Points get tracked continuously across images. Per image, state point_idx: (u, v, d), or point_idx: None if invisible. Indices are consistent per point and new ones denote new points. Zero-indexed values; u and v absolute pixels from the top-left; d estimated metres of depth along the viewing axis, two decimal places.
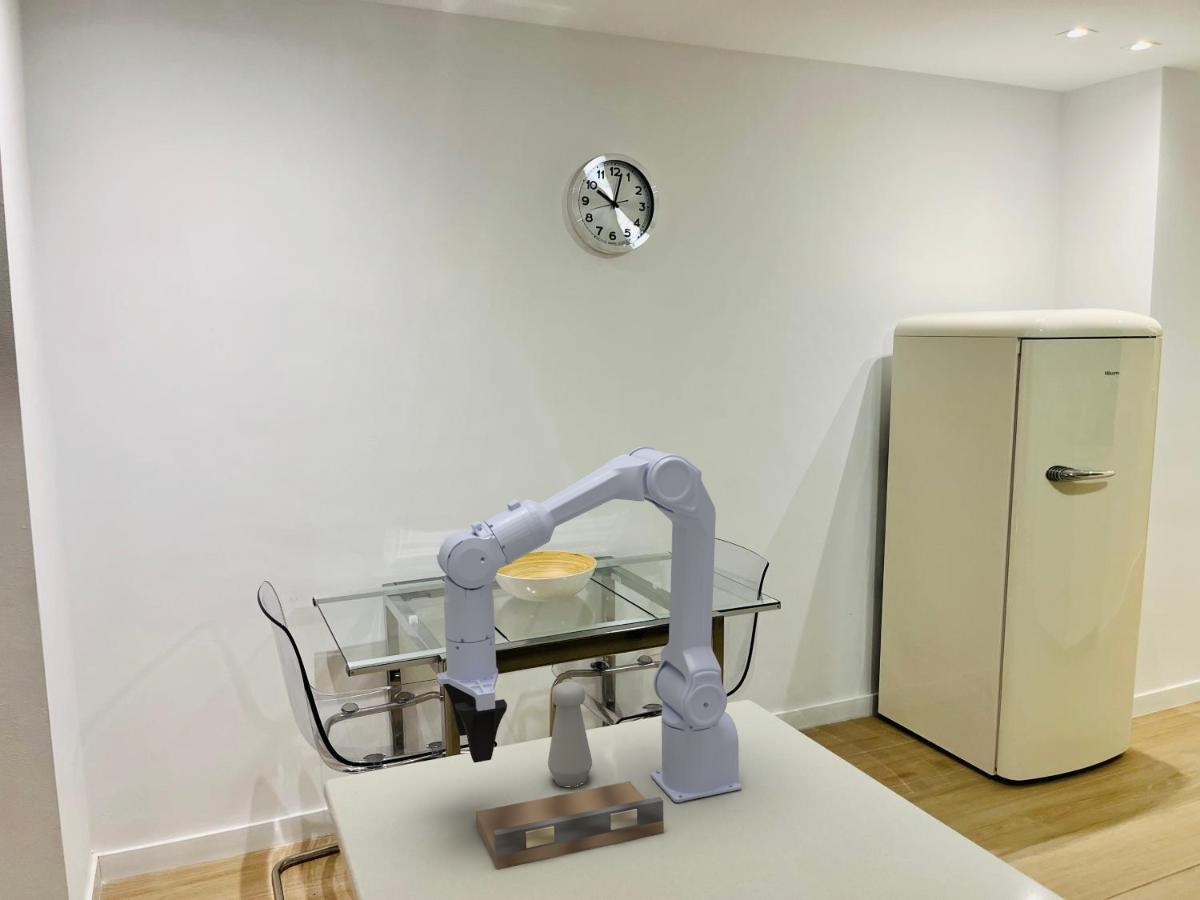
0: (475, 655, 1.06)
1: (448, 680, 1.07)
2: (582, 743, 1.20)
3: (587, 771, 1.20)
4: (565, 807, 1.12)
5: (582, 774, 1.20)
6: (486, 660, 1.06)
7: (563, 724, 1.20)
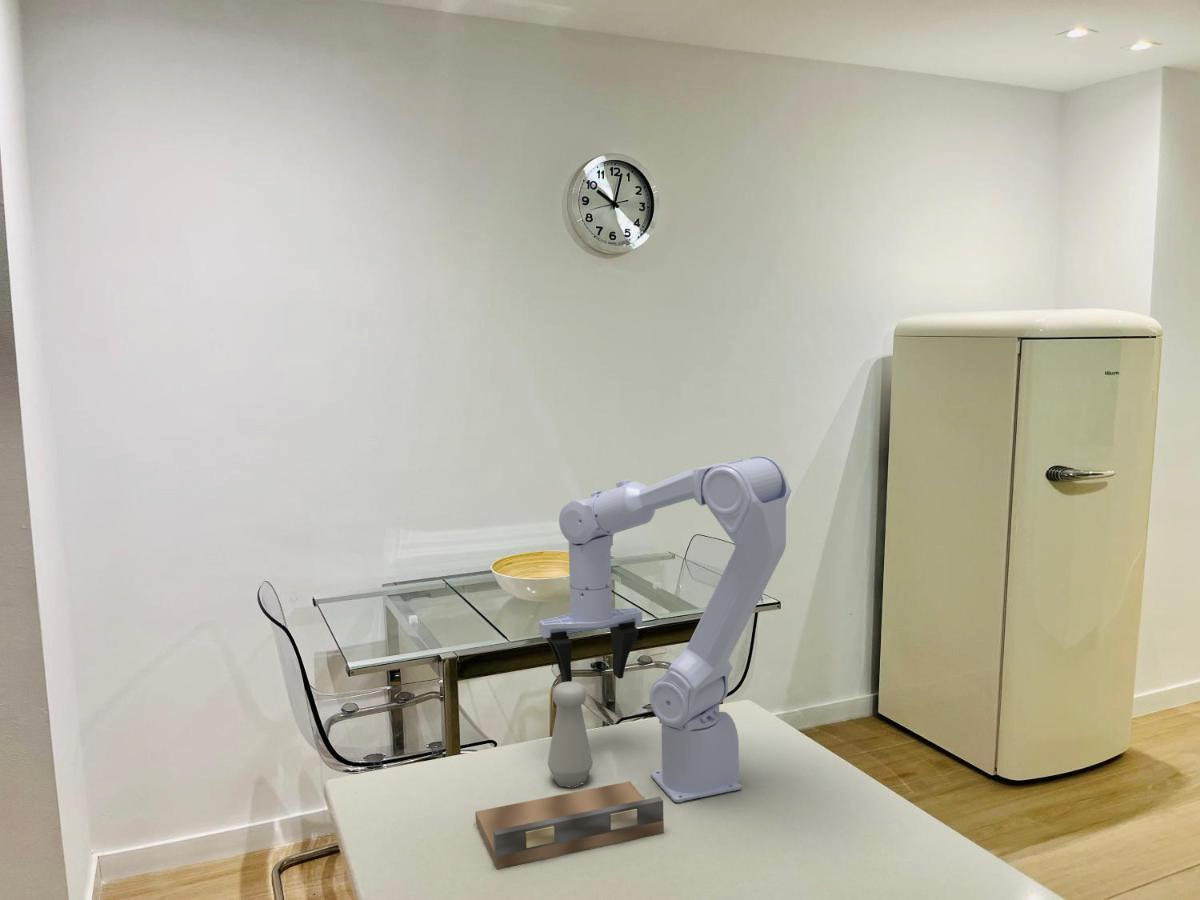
0: (570, 597, 1.27)
1: None
2: (583, 743, 1.20)
3: (587, 771, 1.20)
4: (565, 807, 1.12)
5: (583, 774, 1.20)
6: (576, 606, 1.26)
7: (564, 724, 1.20)
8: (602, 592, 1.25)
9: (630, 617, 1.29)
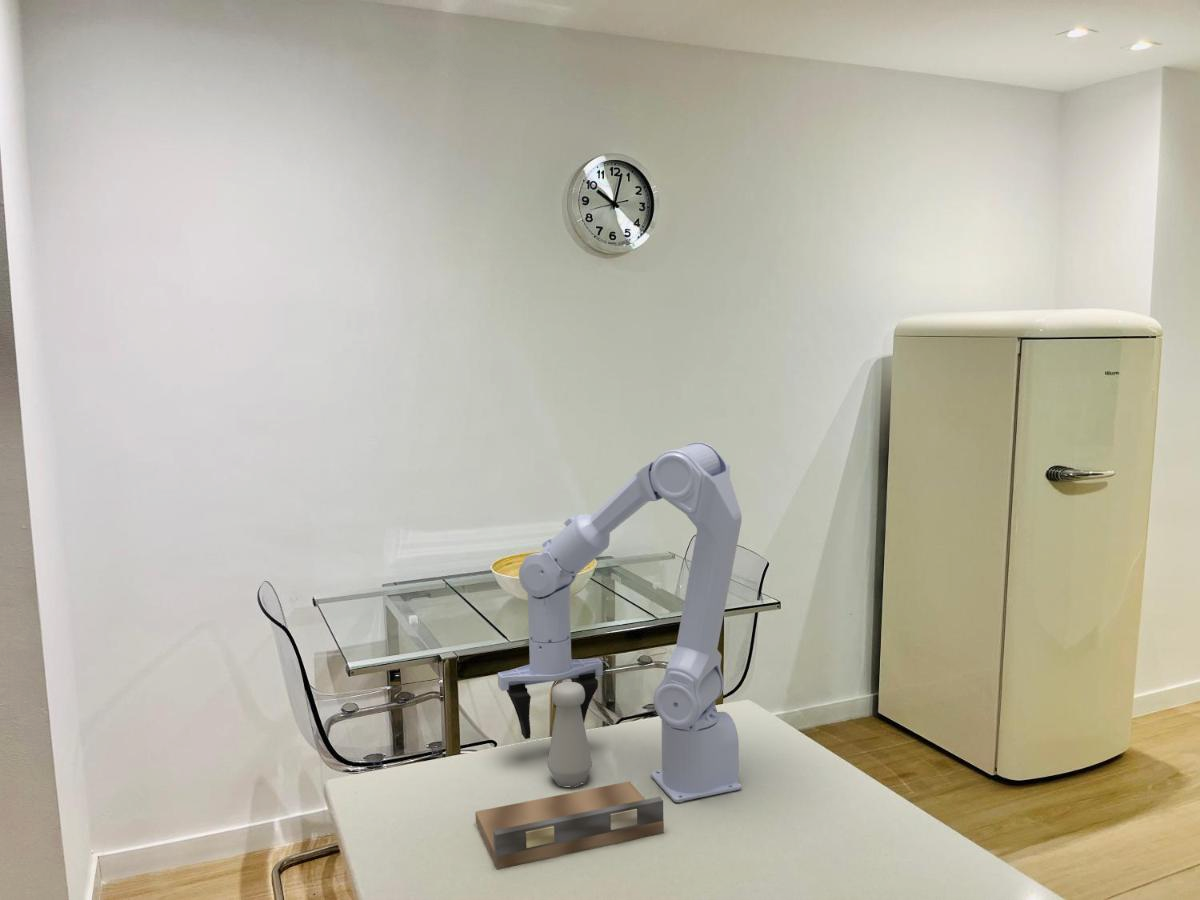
0: (529, 649, 1.27)
1: None
2: (582, 743, 1.20)
3: (587, 771, 1.20)
4: (565, 807, 1.12)
5: (582, 774, 1.20)
6: (535, 658, 1.26)
7: (563, 724, 1.20)
8: (560, 645, 1.25)
9: (590, 668, 1.29)
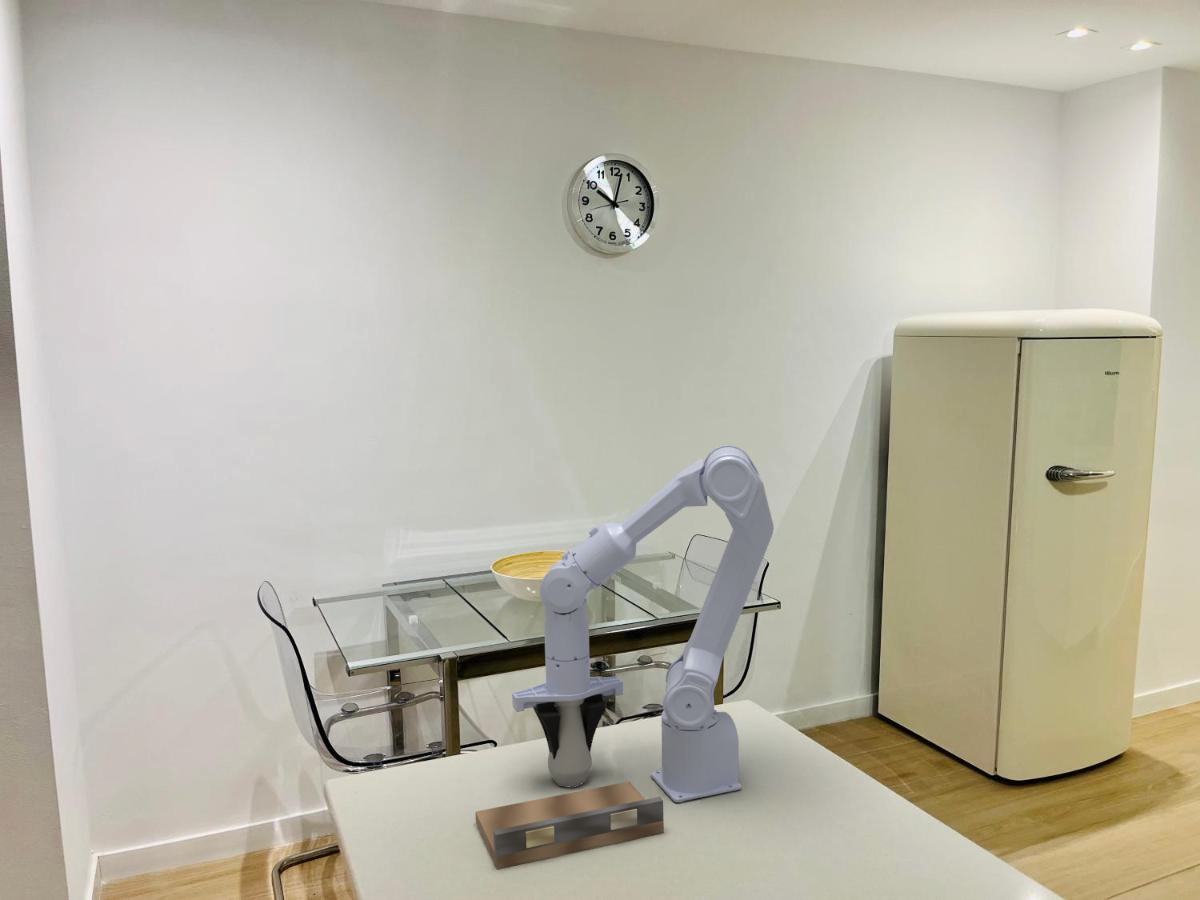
0: (546, 667, 1.20)
1: None
2: (582, 743, 1.20)
3: (587, 771, 1.20)
4: (565, 807, 1.12)
5: (582, 774, 1.20)
6: (552, 677, 1.18)
7: (563, 724, 1.20)
8: (579, 663, 1.18)
9: (610, 688, 1.21)
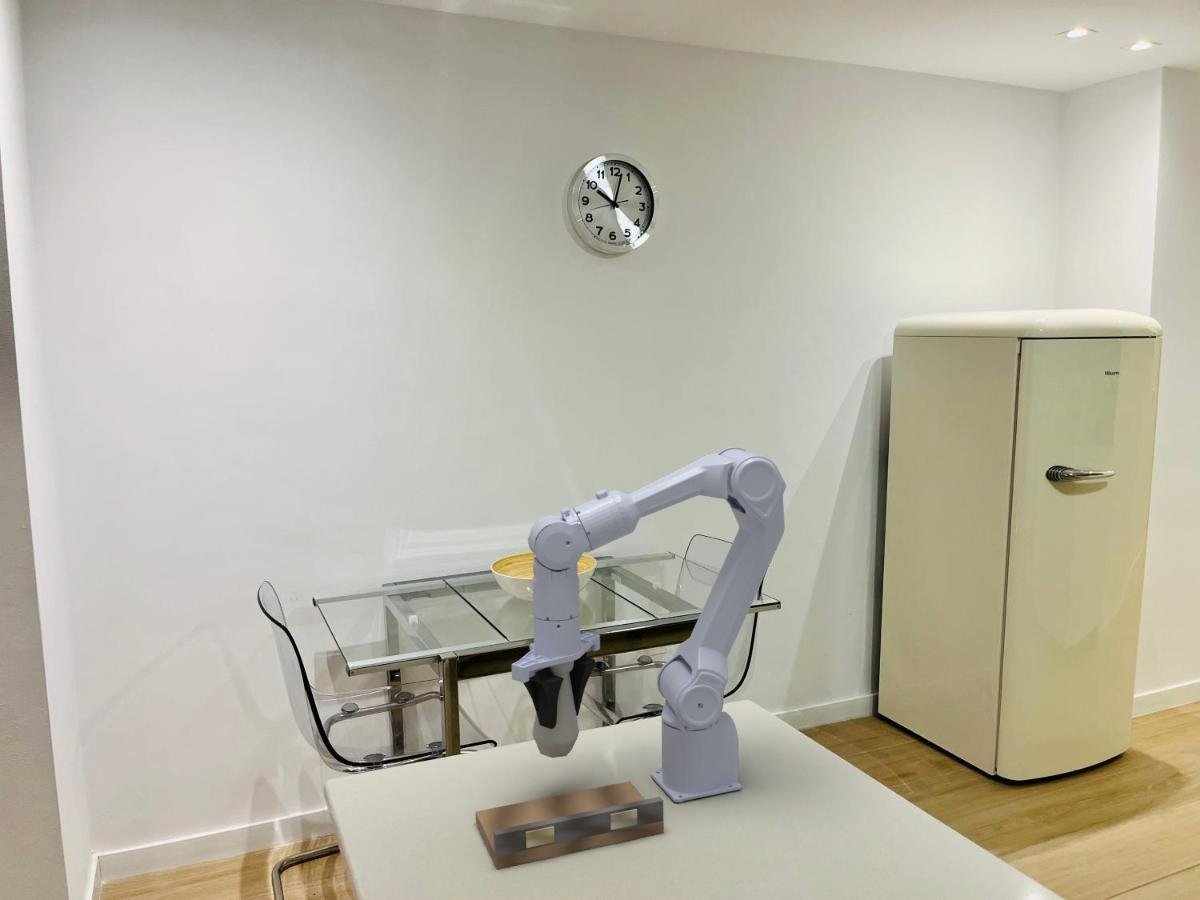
0: (540, 631, 1.12)
1: (533, 649, 1.16)
2: (573, 708, 1.16)
3: (577, 736, 1.16)
4: (565, 807, 1.12)
5: (575, 740, 1.16)
6: (551, 640, 1.12)
7: None
8: (577, 620, 1.13)
9: (592, 643, 1.18)
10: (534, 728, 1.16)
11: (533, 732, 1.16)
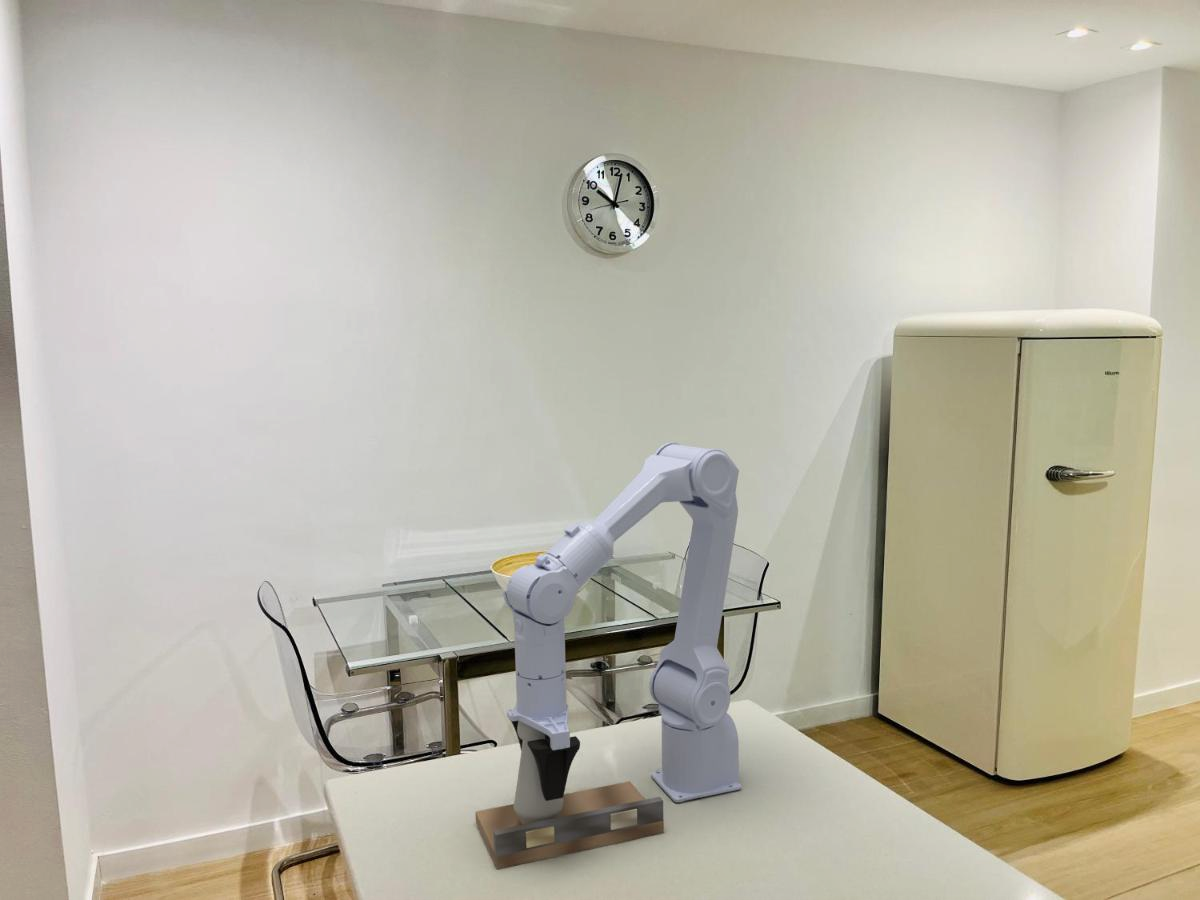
0: (547, 692, 1.04)
1: (519, 717, 1.05)
2: None
3: None
4: (565, 807, 1.12)
5: None
6: (558, 696, 1.05)
7: None
8: None
9: None
10: (530, 808, 1.06)
11: (529, 813, 1.06)
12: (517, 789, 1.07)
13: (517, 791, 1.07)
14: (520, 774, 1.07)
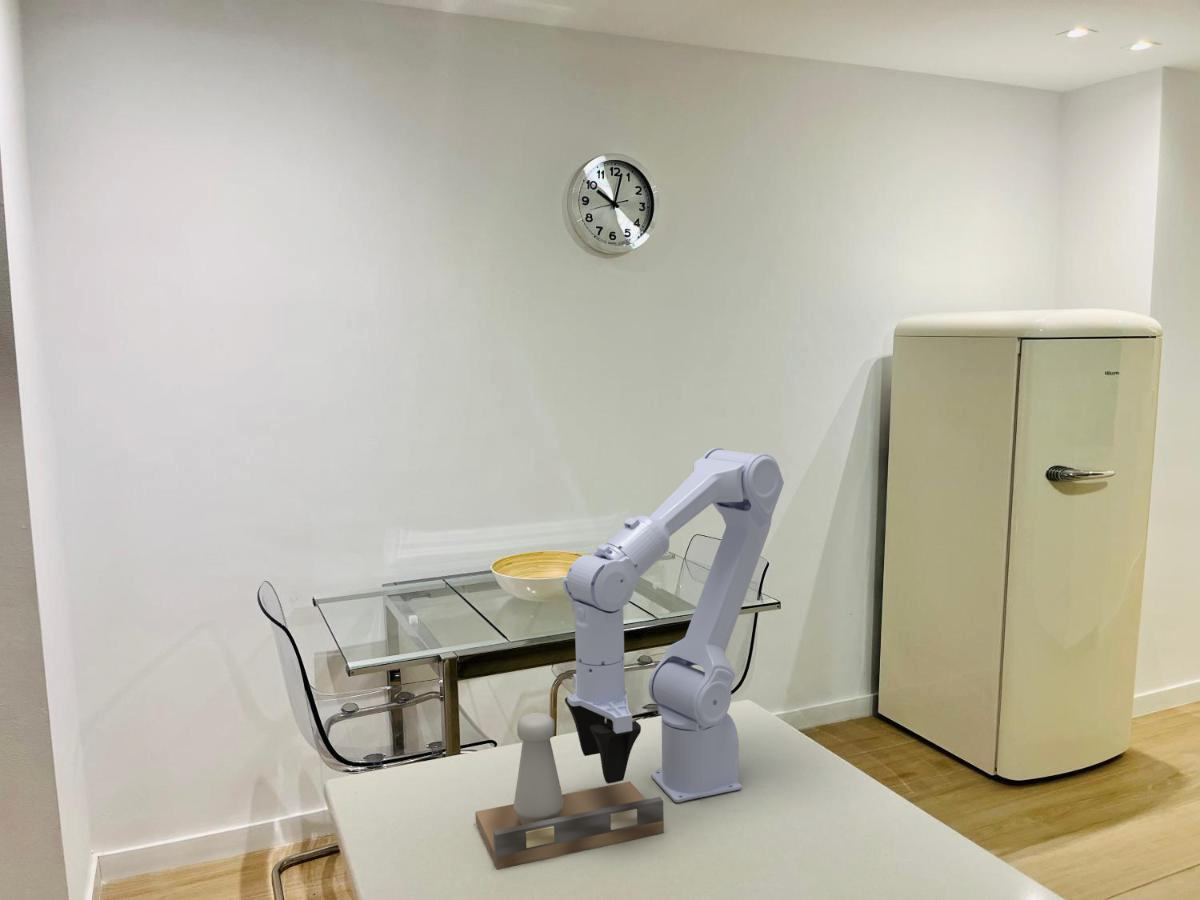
0: (608, 677, 1.07)
1: (580, 702, 1.08)
2: None
3: None
4: (565, 807, 1.12)
5: None
6: (618, 682, 1.08)
7: (550, 757, 1.07)
8: None
9: None
10: (530, 808, 1.06)
11: (529, 813, 1.06)
12: (517, 789, 1.07)
13: (517, 791, 1.07)
14: (520, 774, 1.07)
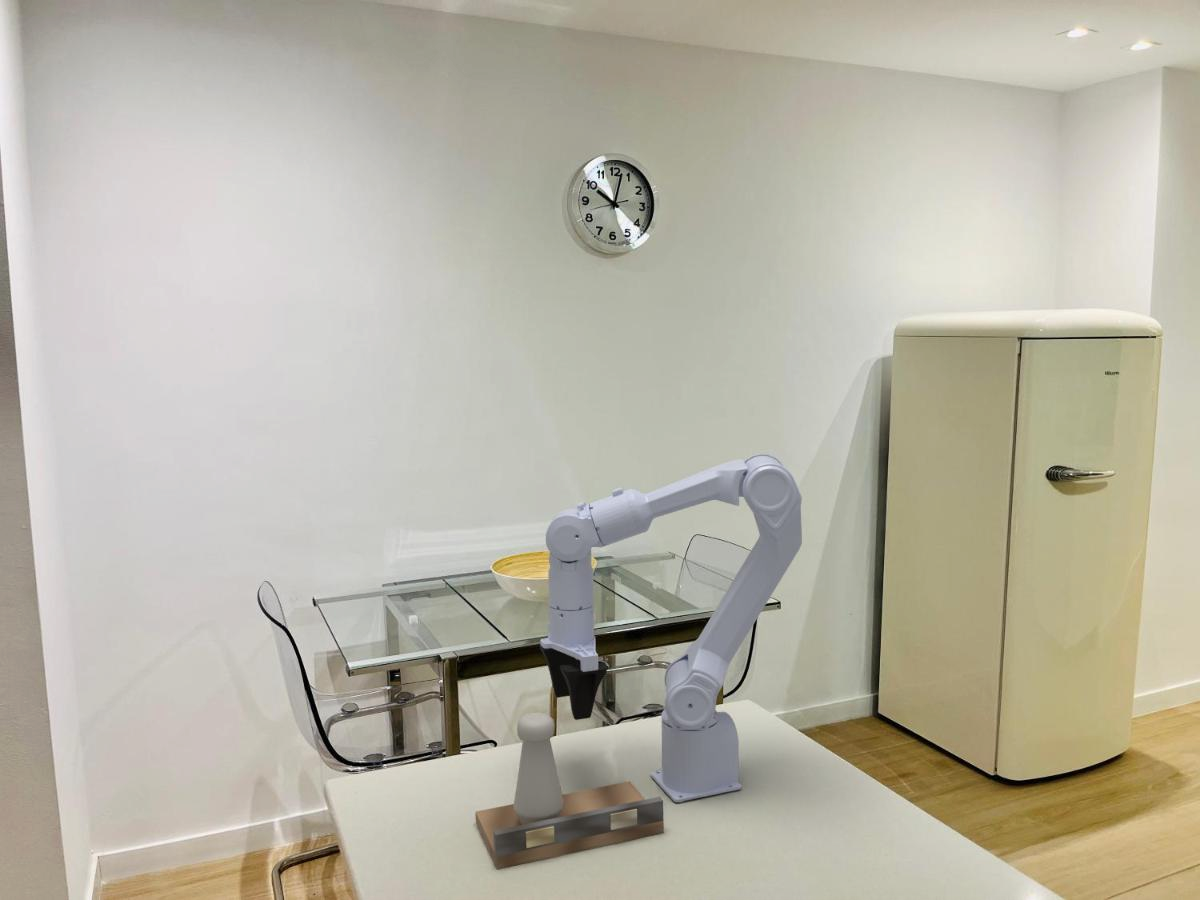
0: (577, 622, 1.16)
1: (552, 645, 1.17)
2: None
3: None
4: (565, 807, 1.12)
5: None
6: (587, 626, 1.17)
7: (550, 757, 1.07)
8: None
9: None
10: (530, 808, 1.06)
11: (529, 813, 1.06)
12: (517, 789, 1.07)
13: (517, 791, 1.07)
14: (520, 774, 1.07)
